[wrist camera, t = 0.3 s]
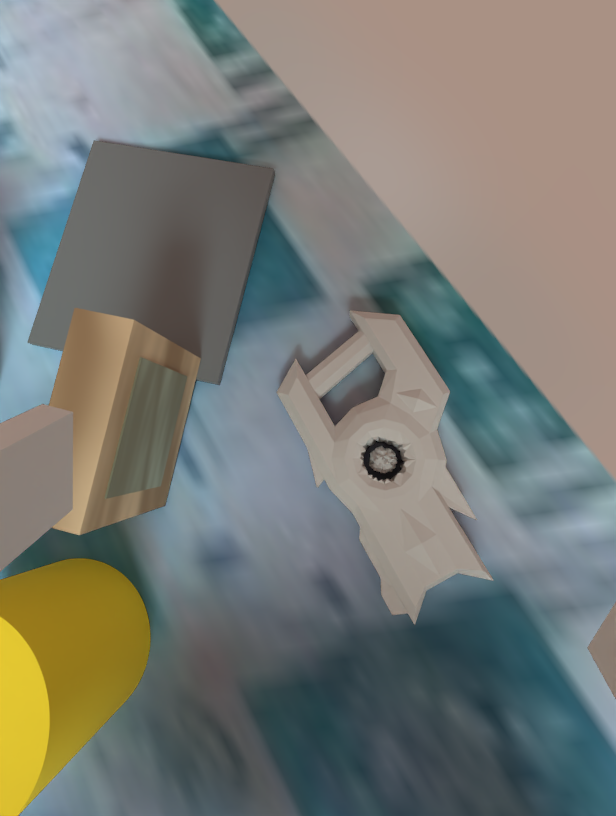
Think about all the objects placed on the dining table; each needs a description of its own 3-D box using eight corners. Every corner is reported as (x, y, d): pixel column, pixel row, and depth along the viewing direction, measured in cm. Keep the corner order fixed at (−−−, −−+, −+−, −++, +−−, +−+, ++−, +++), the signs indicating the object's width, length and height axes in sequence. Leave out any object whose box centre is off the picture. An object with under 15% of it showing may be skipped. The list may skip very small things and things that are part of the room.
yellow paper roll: (21, 750, 26) (-154, 901, 17) (-16, 590, 28) (-193, 648, 19) (170, 693, 26) (77, 814, 17) (124, 535, 28) (16, 566, 19)
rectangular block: (202, 358, 28) (136, 320, 20) (166, 506, 28) (81, 535, 19) (159, 349, 29) (74, 307, 20) (122, 495, 28) (18, 519, 19)
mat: (219, 385, 29) (217, 383, 28) (33, 344, 30) (27, 342, 30) (275, 174, 31) (273, 168, 30) (98, 146, 32) (93, 140, 32)
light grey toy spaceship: (563, 550, 23) (398, 642, 23) (536, 542, 26) (393, 623, 26) (385, 282, 27) (246, 360, 27) (381, 305, 30) (258, 375, 30)
